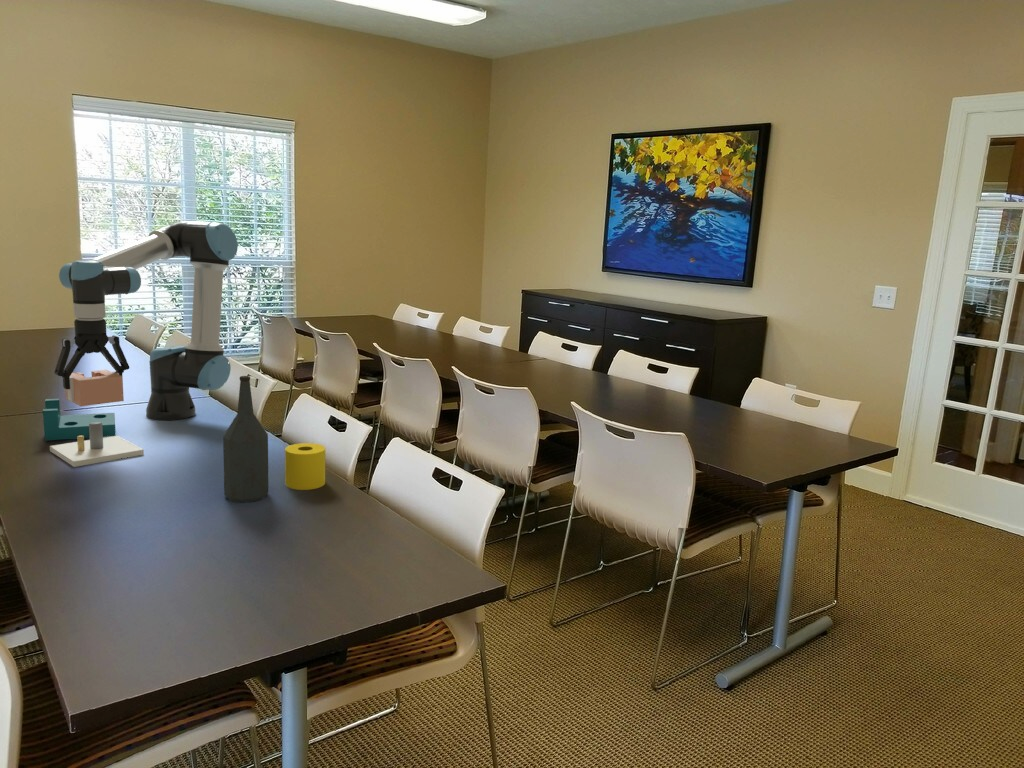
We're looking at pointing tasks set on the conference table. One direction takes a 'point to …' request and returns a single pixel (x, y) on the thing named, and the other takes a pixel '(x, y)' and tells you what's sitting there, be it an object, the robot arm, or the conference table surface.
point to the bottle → (245, 452)
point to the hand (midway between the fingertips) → (94, 397)
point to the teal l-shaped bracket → (73, 422)
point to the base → (98, 454)
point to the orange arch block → (97, 388)
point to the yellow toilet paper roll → (304, 466)
